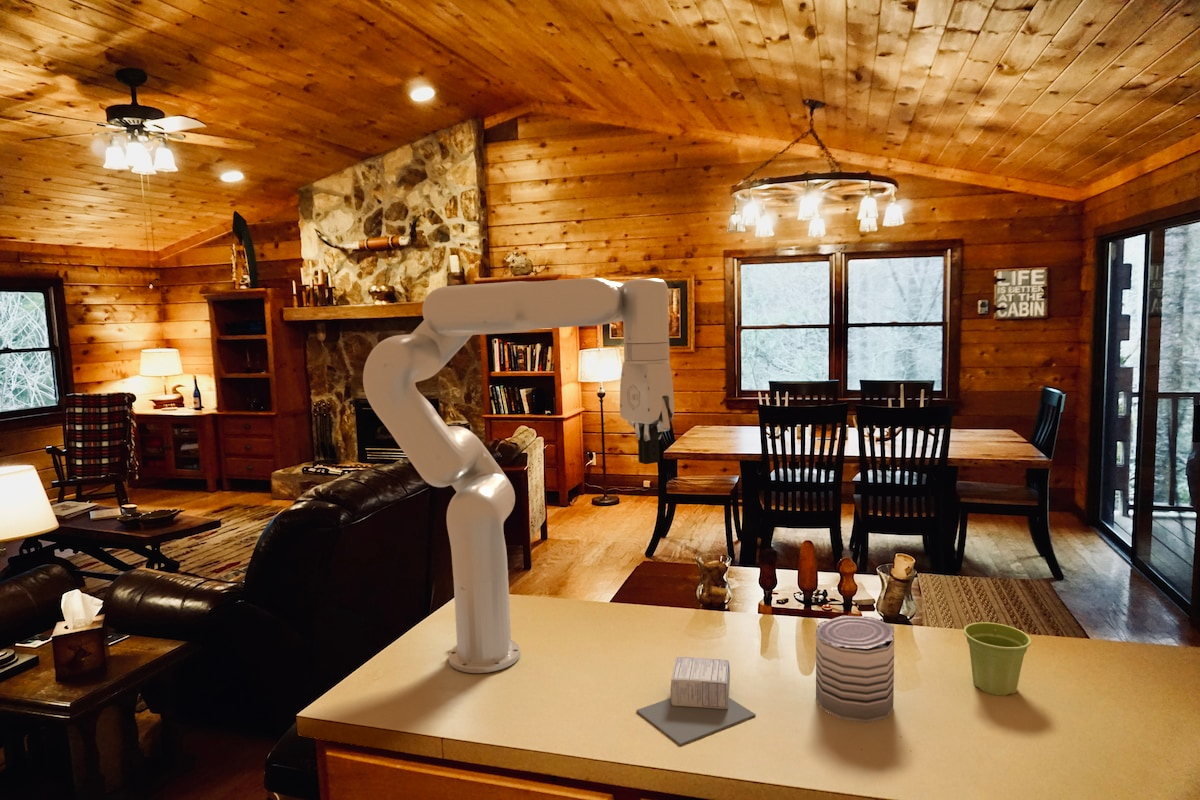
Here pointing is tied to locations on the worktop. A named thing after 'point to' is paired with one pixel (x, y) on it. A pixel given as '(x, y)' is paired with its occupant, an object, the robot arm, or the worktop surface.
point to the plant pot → (996, 656)
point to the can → (855, 668)
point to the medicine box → (700, 683)
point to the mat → (692, 719)
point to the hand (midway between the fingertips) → (649, 462)
